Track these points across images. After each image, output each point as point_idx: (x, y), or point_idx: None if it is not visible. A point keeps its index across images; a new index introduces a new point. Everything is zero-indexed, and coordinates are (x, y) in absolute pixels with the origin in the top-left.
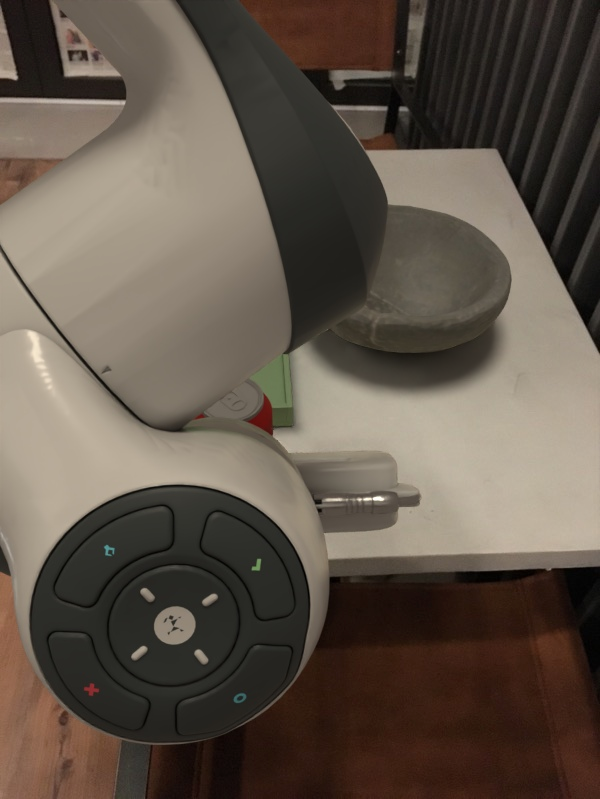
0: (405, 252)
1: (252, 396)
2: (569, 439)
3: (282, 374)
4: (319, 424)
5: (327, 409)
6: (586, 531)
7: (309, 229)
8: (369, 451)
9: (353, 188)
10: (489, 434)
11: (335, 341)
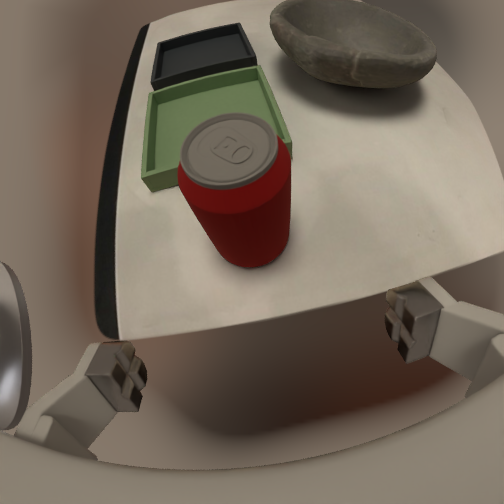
0: (342, 24)
1: (259, 137)
2: (487, 159)
3: (270, 113)
4: (316, 154)
5: (319, 139)
6: None
7: None
8: None
9: None
10: (447, 155)
11: (306, 84)
